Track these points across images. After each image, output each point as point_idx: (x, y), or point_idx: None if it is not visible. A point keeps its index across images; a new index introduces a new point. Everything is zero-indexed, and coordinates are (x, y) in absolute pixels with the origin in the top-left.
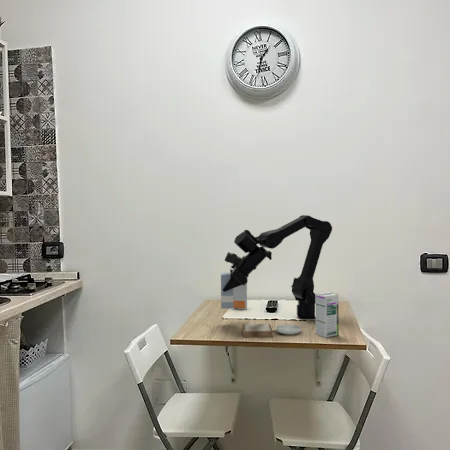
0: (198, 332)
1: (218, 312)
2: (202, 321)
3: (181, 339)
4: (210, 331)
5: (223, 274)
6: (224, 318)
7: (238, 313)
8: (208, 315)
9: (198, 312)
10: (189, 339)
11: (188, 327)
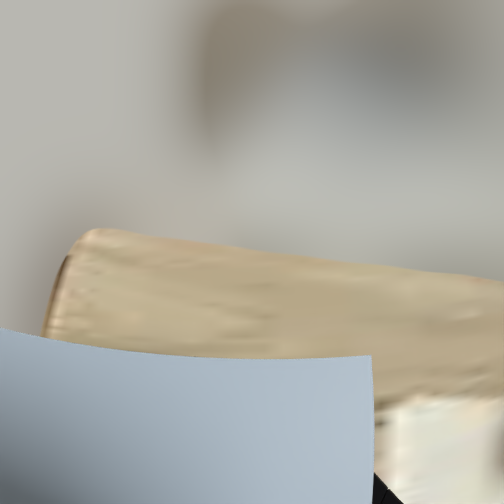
0: (135, 297)
1: (476, 365)
2: (318, 309)
3: (76, 244)
4: (140, 347)
5: (43, 411)
6: (377, 414)
7: (462, 461)
8: (426, 326)
9: (462, 276)
10: (68, 268)
11: (215, 254)
